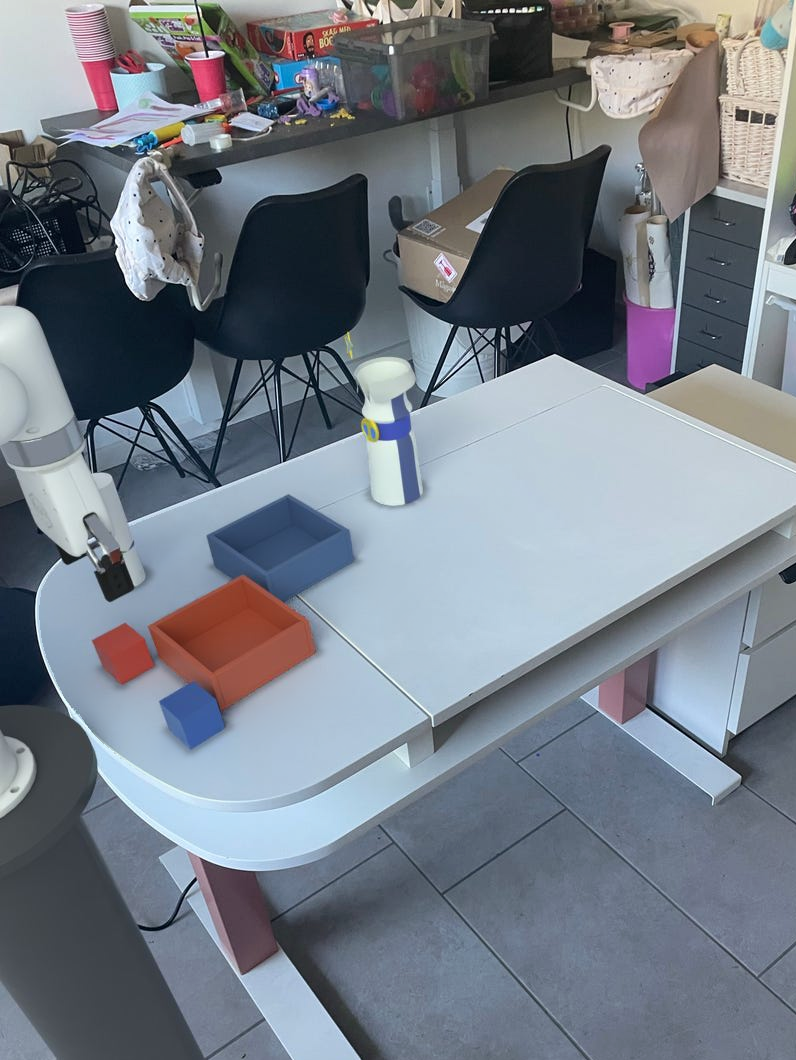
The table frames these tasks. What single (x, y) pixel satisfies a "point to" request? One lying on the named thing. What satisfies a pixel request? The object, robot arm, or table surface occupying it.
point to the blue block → (192, 714)
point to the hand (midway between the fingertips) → (98, 576)
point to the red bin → (233, 640)
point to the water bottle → (389, 429)
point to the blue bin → (282, 547)
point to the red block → (123, 653)
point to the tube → (120, 527)
